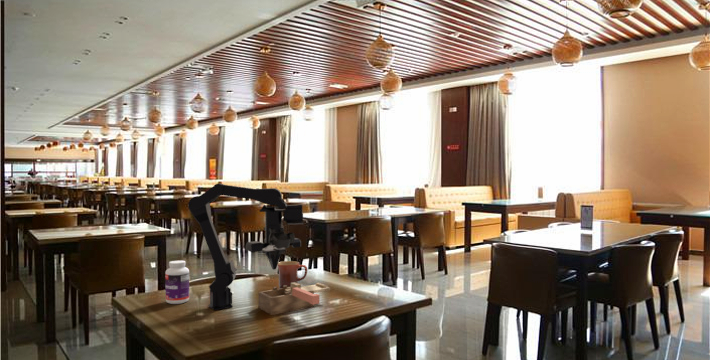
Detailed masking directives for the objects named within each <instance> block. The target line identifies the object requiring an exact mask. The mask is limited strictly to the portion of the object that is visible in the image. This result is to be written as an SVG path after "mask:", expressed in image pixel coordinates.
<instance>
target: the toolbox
mask: <svg viewBox="0 0 710 360" xmlns="http://www.w3.org/2000/svg"><path fill="white" fill-rule="evenodd" d="M285 289H291V287H287V285H284V286H283V288H280V287H279V288H278V287H277V286H273V287H272V289H270V290H269V289H268V290H264V291H263V290H262V291H258V293H257V294H258V296H257V301H258V302H257V303H258V304H257V305H258V309H259V310H260V311H263V312H265V313H267V314H269V315H271V316H273V315H278V314H283V313H289V311H290V312H294V311H300V310H303V309H309V308H315V304H314V305H312V304H310V303H309V302H307V301H304V300H302V299H300V298H298V297H295V296H293V295H292V294H290V293H289V292H284V290H285ZM308 292H310V293H313V294H315V293H314V291H313V290H311V291H308Z"/></svg>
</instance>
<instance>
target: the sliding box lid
mask: <svg viewBox="0 0 710 360" xmlns="http://www.w3.org/2000/svg"><path fill="white" fill-rule="evenodd" d="M296 287H298V288H300V289H303V290H305V291H311V290H313V291H314V294H317V293H321V292H327V291H331V287H329V286H327V284H324V283H321V282H316V283H315V284H311V285H304V286H302V285H301V283H299V282H298V283H295V282H293V283H291V289H285V290H284V292H289V293H290V294H292V288H296Z"/></svg>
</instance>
